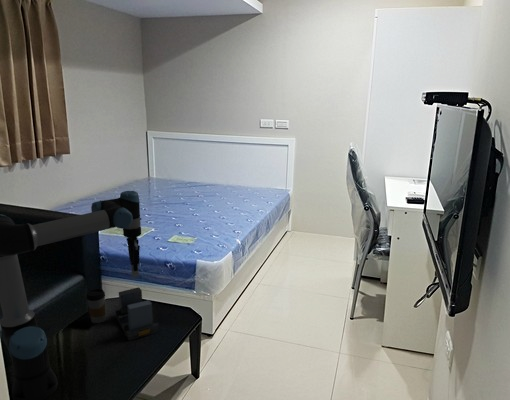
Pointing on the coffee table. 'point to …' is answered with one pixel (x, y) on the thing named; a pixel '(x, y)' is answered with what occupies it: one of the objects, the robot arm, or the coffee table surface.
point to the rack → (122, 315)
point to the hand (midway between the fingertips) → (135, 276)
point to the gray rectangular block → (139, 315)
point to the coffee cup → (96, 305)
